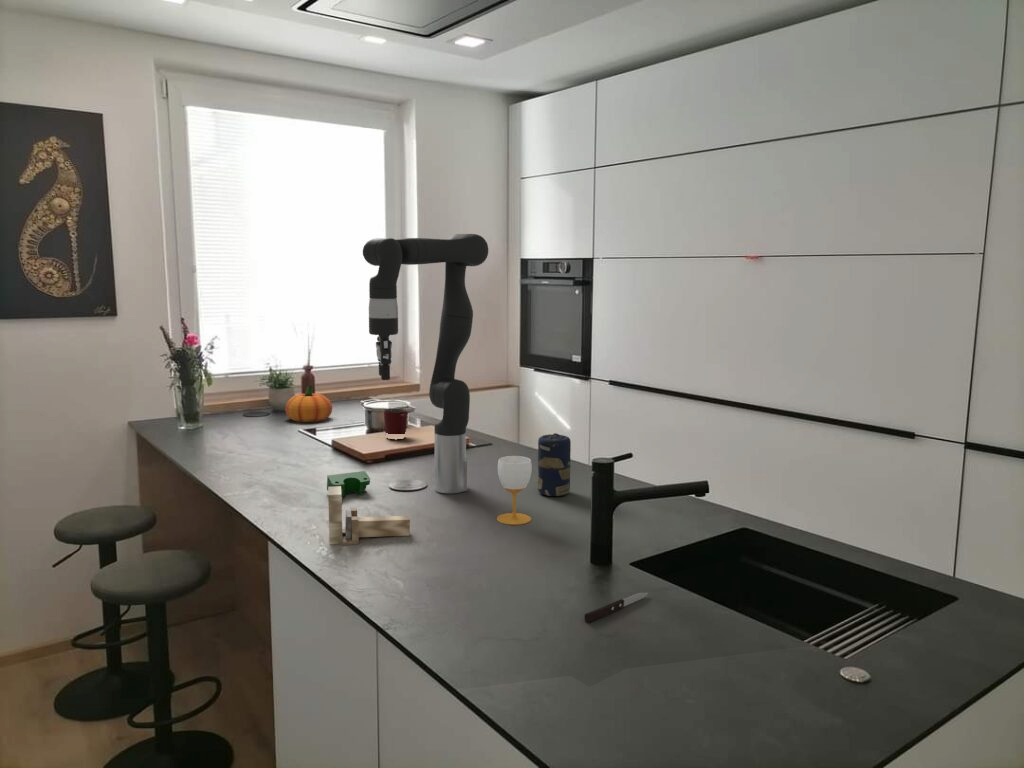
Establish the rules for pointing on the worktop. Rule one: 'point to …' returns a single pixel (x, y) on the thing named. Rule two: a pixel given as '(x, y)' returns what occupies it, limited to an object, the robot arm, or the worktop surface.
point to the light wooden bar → (379, 526)
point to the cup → (514, 484)
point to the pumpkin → (308, 407)
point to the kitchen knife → (612, 607)
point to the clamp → (349, 482)
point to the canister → (554, 464)
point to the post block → (340, 519)
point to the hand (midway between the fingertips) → (384, 377)
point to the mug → (395, 420)
